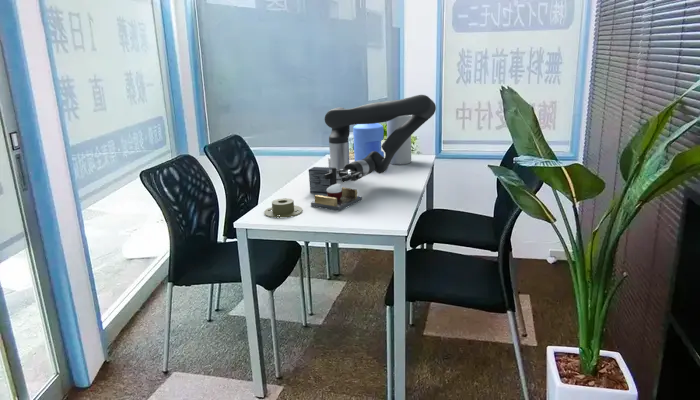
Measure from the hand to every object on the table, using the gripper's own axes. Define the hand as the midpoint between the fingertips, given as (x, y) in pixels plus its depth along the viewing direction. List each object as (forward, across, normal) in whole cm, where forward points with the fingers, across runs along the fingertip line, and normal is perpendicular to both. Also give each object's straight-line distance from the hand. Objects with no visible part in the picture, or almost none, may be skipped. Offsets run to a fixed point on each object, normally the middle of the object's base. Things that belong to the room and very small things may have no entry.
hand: (333, 178), depth 215 cm
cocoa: (-1, 0, +9) cm, 9 cm away
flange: (+18, -12, +11) cm, 24 cm away
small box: (-13, -16, +11) cm, 23 cm away
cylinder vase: (-77, -14, +11) cm, 79 cm away
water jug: (-63, -24, +11) cm, 68 cm away
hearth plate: (-1, 0, +10) cm, 10 cm away
